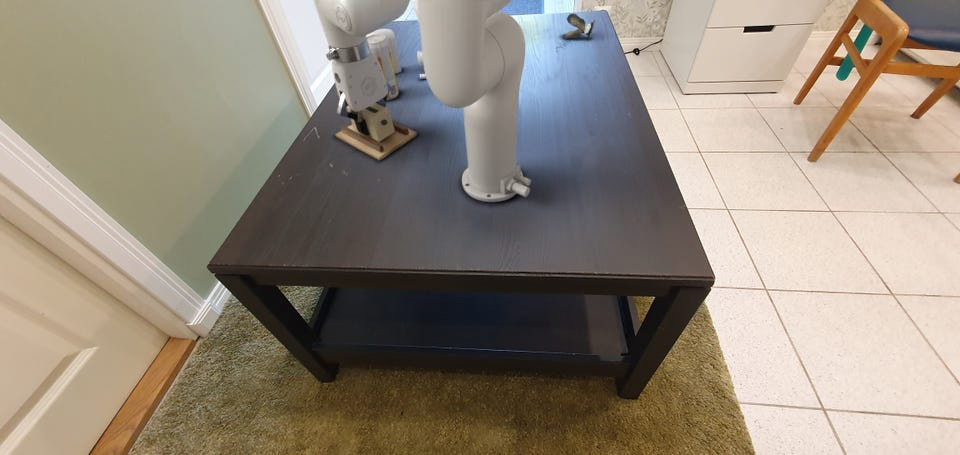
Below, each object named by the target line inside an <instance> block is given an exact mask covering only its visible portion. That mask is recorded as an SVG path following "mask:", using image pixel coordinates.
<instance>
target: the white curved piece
mask: <svg viewBox="0 0 960 455" xmlns="http://www.w3.org/2000/svg"><path fill="white" fill-rule="evenodd" d="M371 35H383V36H385V38H386V39H387V41H388V44H389V48H390V53H391V57H392V62H393V66H394V71H395V75H396V74H398V73H401V72H402V66H401V65H402V64H401V60H400V56H399V50H398V44H397V40H396V36H395V33H394V31H393V30H392V29H390V28H379V29H377V30H375V31H374V32H372V33H370V34H368V35H366V37H368V36H371Z"/></svg>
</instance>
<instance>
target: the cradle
mask: <svg viewBox="0 0 960 455" xmlns="http://www.w3.org/2000/svg"><path fill="white" fill-rule="evenodd" d="M392 122H393V126H394V130H395V132H393V133H392V134H390V135H389V136H387V137H386V138H384V139H383V140H381V141H380V142H378V141H376V140H374V139H373V138H371V137H369V136H366V135H364V134H362V133H360V132H358V131H357V130H355V129H354V127H353V124H352V123H351V124H350V125H349V126H346V125H342V126H340V131H339V132H337V133H334V136H335V137H336V138H337V139H339V140H341V141H343V142H344V143H346V144H348V145H349V146H352V147H354V148H355V149H357V150H359V151H361V152H363V153H365V154H367V155H369V156H370V157H372V158H374V159H375V160H376V159H377V161H381V160H383V159H384V158H386V157H387V156H389V155H390V154H391V153H393V152H395V151H396V150H397V149H399V148H400V147H402V146H403V145H405V144H406V143H407V142H409V141H410V140H412V139H414V138H415V137H416V136H417V135H418V133H417V131H415V130H412V129H410V128H408V127H406V126H404V125H402V124H399V123H397V122H395V121H393V120H392Z"/></svg>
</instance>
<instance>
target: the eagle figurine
mask: <svg viewBox="0 0 960 455" xmlns="http://www.w3.org/2000/svg"><path fill="white" fill-rule="evenodd" d="M566 21H567V23H568V24H569V25H571V26H572V27H575V28H577V29H573V30H570V31H568V32H567V33H565V34H563V35H562V36H561V37H562V39H565V40H566V39H567V40H568V39H570V38H574V37H575V38H576V37H580V36H581V35H582V34H584V35H586V36H587V38H588V39H589V40H590V39H591V34H592V33H593V28H594V25H595V22H596V19H593V21H591V22H590V23H586V21H585V20H584V18H582V17H580V16H579V15H578V14H577V13H569V14H568V16H567V17H566Z"/></svg>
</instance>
